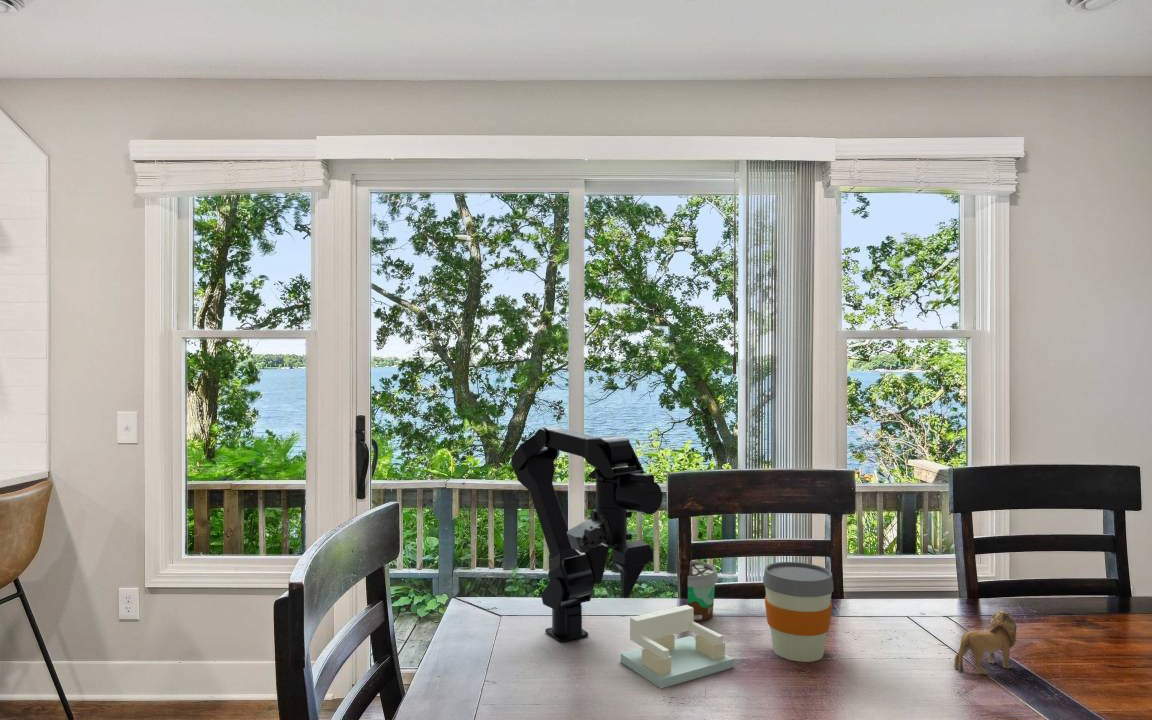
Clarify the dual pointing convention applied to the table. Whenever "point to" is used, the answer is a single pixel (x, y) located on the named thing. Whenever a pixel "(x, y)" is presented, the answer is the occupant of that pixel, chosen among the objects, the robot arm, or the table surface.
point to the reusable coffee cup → (798, 609)
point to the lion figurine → (989, 642)
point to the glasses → (667, 628)
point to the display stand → (679, 660)
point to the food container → (701, 590)
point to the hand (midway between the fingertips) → (611, 590)
